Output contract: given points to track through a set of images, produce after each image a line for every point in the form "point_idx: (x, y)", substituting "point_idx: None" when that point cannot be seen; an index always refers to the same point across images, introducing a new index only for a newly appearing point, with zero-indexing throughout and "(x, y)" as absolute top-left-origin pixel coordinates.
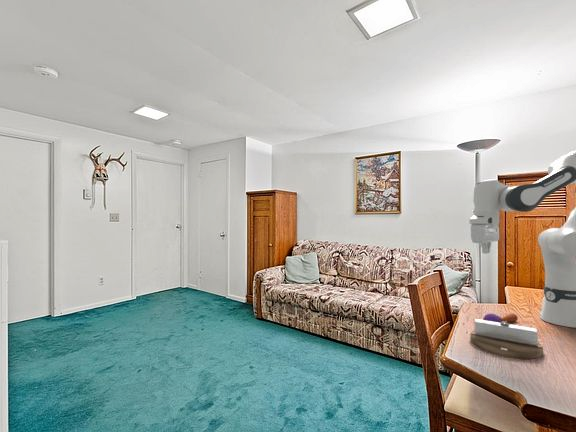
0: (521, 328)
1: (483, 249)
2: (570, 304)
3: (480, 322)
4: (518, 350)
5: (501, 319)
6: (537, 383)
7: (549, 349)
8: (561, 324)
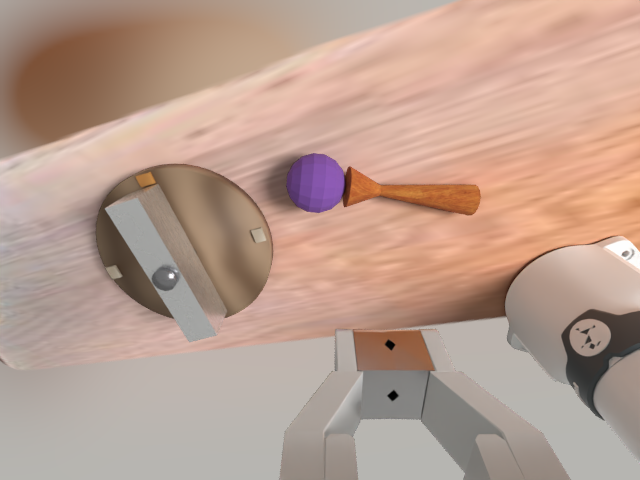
0: (180, 313)
1: (336, 377)
2: (556, 366)
3: (114, 223)
4: (144, 292)
5: (345, 206)
6: (63, 329)
7: (268, 312)
8: (507, 303)
